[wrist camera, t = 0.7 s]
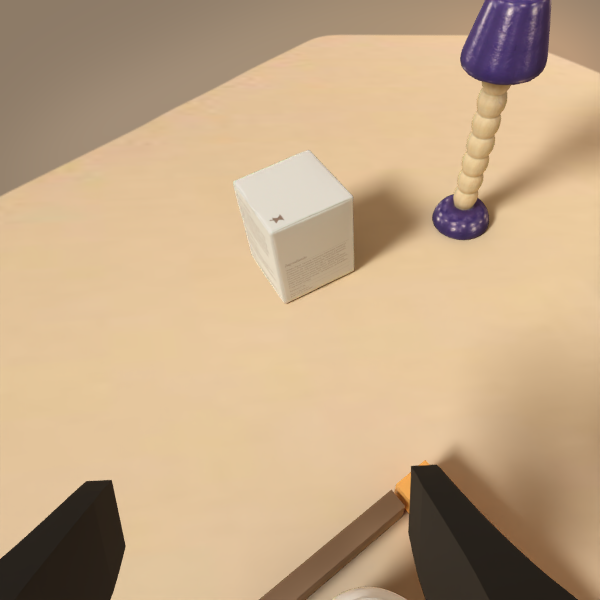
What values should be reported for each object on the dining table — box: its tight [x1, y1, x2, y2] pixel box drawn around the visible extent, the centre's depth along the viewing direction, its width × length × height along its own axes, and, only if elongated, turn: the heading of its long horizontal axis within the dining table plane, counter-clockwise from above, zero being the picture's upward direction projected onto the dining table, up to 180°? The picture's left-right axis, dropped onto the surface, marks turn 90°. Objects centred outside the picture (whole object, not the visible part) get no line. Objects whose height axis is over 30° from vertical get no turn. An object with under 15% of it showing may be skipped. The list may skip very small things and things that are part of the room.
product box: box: [233, 150, 354, 303], centre depth 35 cm, size 6×6×7 cm
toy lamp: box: [432, 0, 551, 240], centre depth 32 cm, size 5×5×17 cm
